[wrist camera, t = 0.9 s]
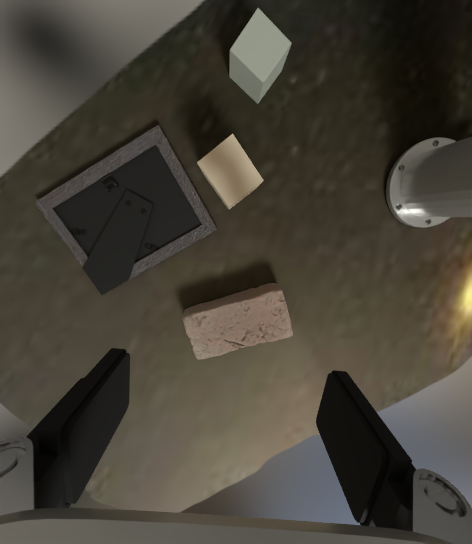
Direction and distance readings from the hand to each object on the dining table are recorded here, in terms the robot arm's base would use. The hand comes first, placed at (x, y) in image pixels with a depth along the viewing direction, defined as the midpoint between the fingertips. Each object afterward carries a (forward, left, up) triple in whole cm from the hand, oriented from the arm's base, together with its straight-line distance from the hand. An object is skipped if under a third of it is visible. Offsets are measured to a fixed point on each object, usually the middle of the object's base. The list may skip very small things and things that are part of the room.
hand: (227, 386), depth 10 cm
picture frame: (+7, -15, -27) cm, 32 cm away
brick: (+4, +8, -27) cm, 29 cm away
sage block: (-19, -19, -27) cm, 38 cm away
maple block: (-8, -10, -27) cm, 29 cm away
